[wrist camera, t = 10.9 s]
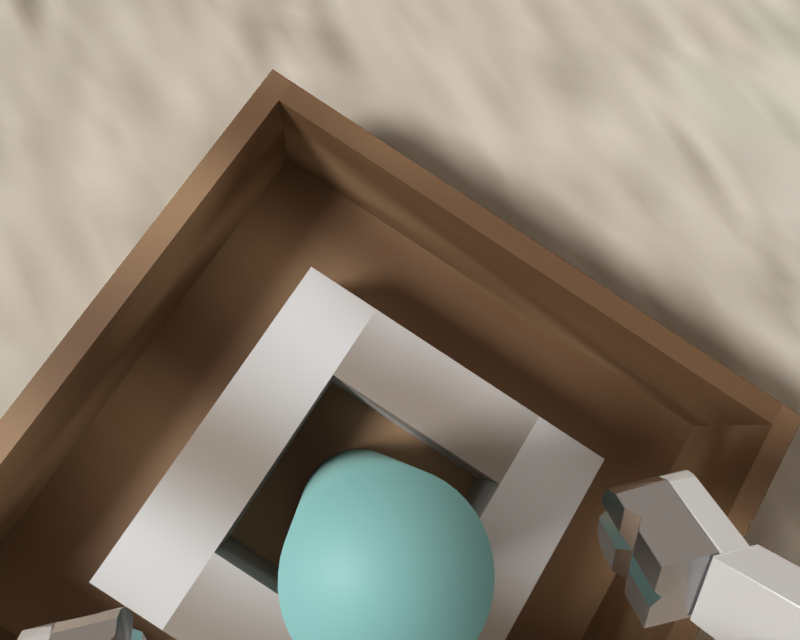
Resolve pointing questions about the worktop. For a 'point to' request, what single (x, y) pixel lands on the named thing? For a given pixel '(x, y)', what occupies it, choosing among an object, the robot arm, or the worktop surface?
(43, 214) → the worktop surface
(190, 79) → the worktop surface
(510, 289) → the box
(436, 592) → the peg
